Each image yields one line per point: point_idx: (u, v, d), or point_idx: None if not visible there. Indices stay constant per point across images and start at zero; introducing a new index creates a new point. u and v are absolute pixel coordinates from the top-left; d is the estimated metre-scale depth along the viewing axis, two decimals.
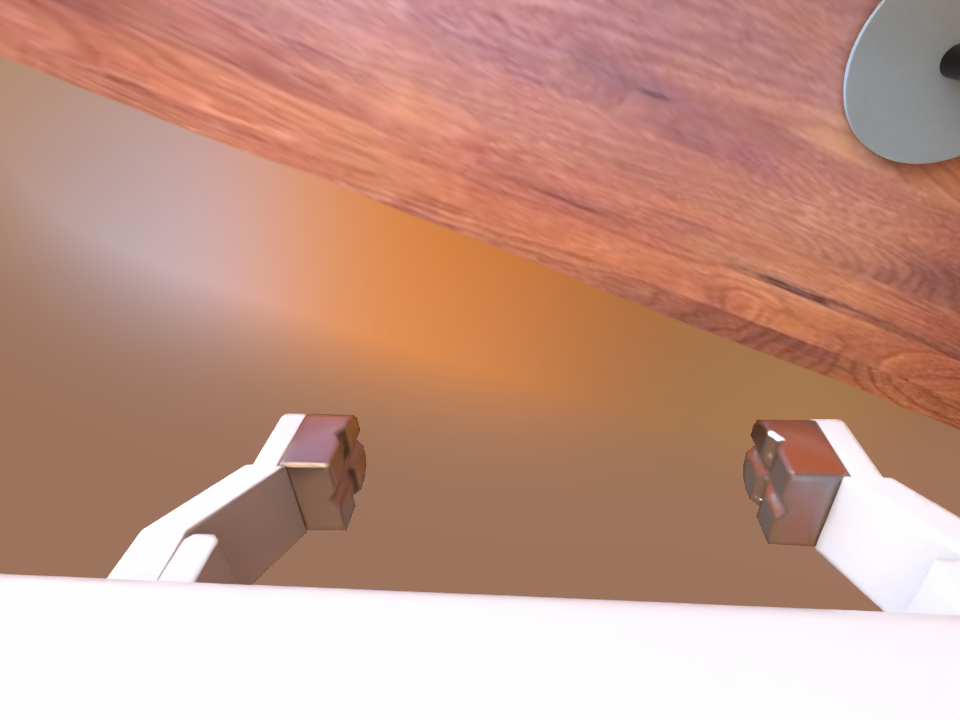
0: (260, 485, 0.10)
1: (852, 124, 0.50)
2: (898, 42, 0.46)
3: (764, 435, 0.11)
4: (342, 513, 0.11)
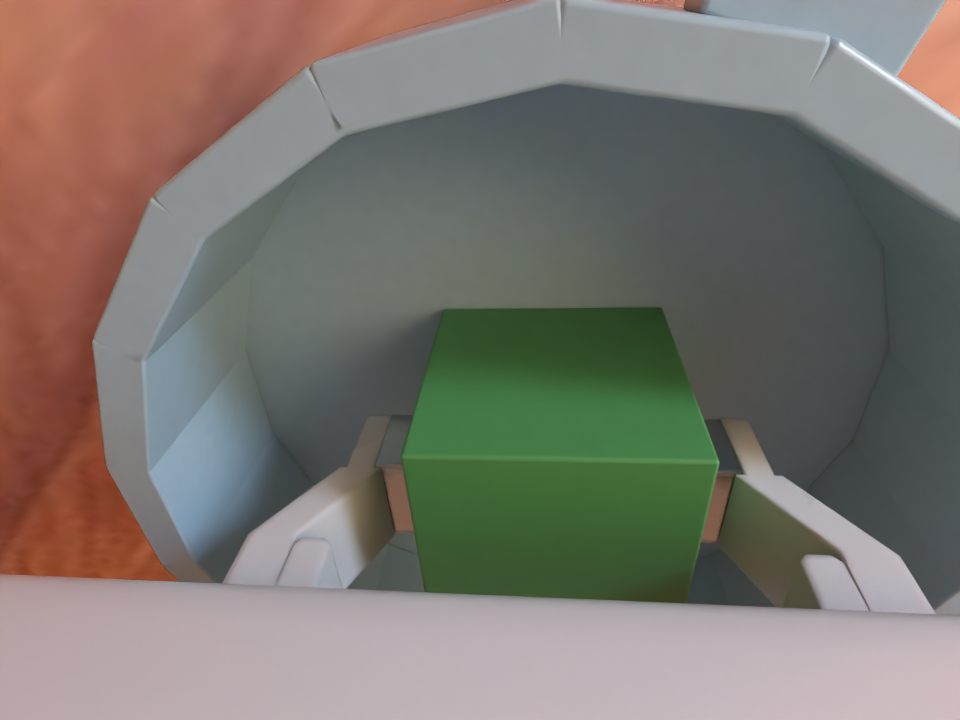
0: (359, 487, 0.10)
1: None
2: None
3: None
4: None
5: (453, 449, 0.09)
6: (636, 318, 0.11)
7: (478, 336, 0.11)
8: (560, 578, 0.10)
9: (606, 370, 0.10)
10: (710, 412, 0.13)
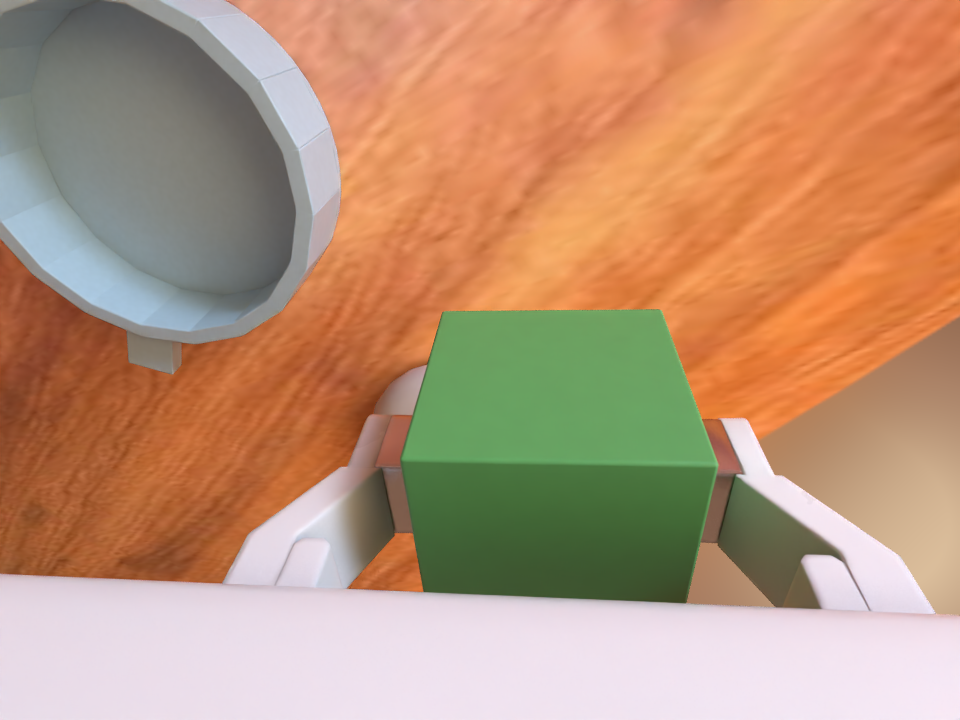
0: (359, 487, 0.10)
1: None
2: None
3: None
4: None
5: (452, 451, 0.09)
6: (636, 320, 0.11)
7: (477, 338, 0.11)
8: (560, 580, 0.10)
9: (606, 373, 0.10)
10: (256, 172, 0.28)
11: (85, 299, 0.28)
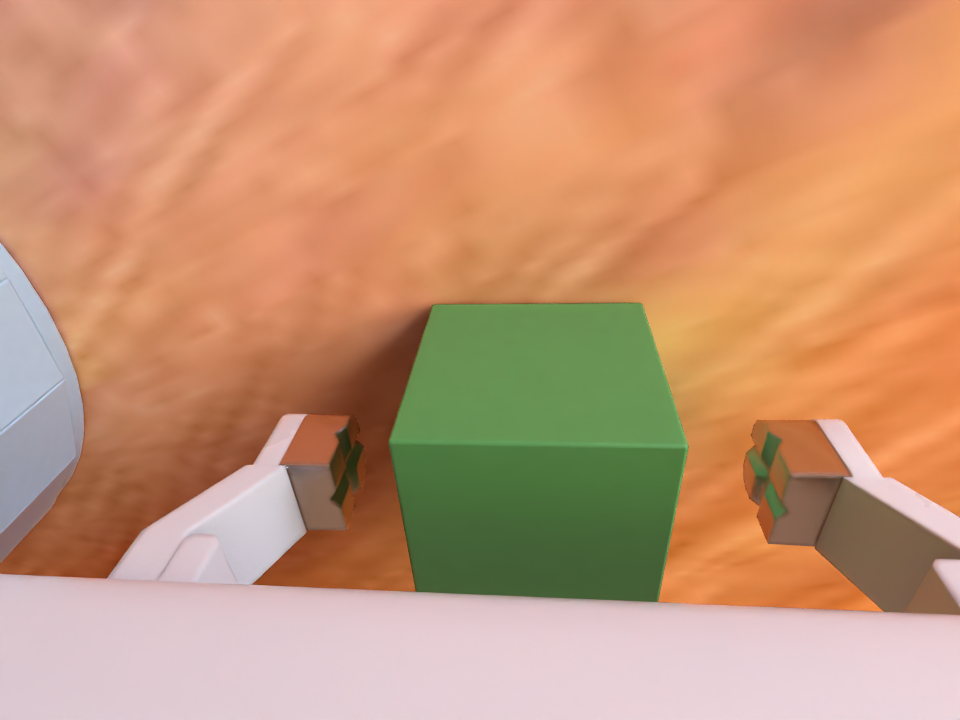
0: (260, 485, 0.10)
1: None
2: None
3: (764, 435, 0.11)
4: (342, 513, 0.11)
5: (438, 434, 0.09)
6: (617, 313, 0.12)
7: (465, 329, 0.12)
8: (541, 559, 0.10)
9: (586, 362, 0.10)
10: None
11: None
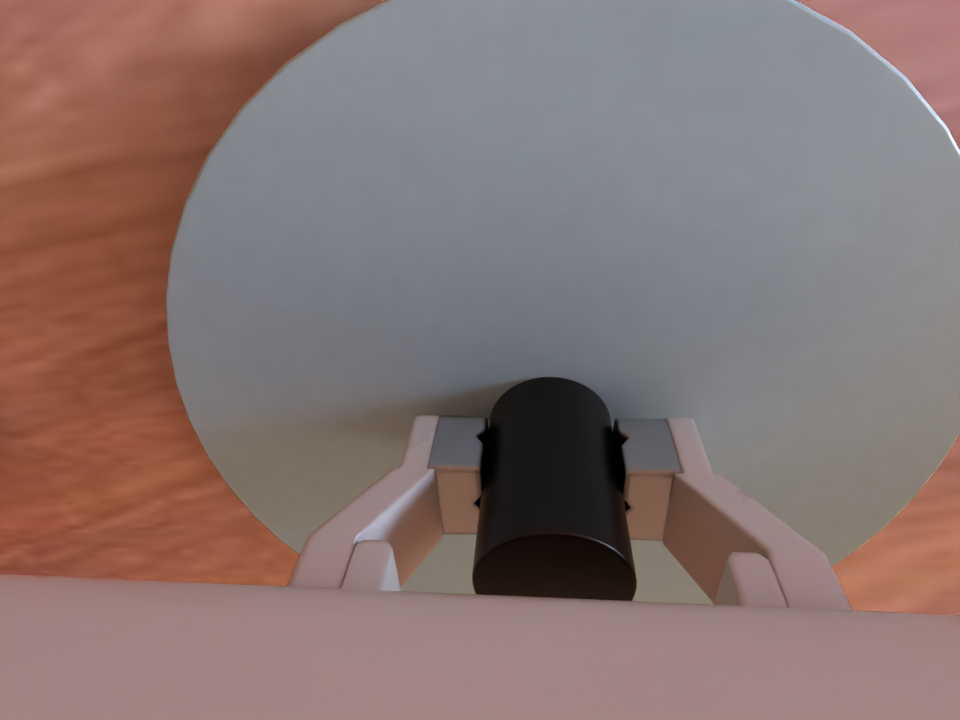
0: (413, 488, 0.10)
1: None
2: (802, 325, 0.11)
3: (616, 433, 0.11)
4: None
5: None
6: None
7: None
8: None
9: None
10: None
11: None
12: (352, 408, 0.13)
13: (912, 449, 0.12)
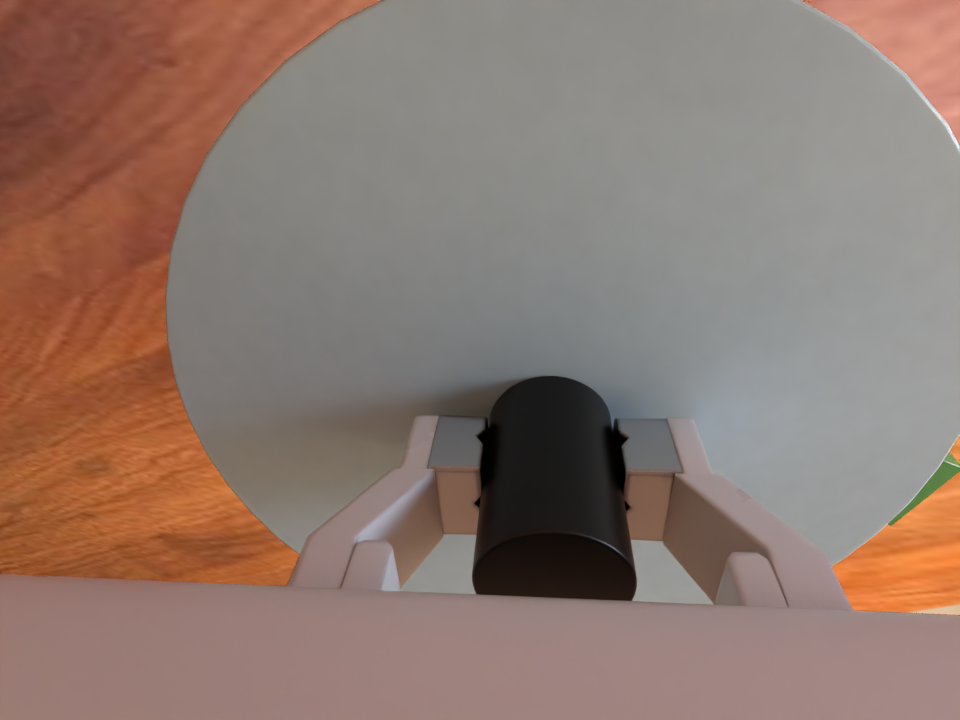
0: (414, 488, 0.10)
1: None
2: (803, 324, 0.11)
3: (616, 433, 0.11)
4: None
5: None
6: None
7: None
8: None
9: None
10: None
11: None
12: (352, 406, 0.13)
13: (913, 448, 0.12)
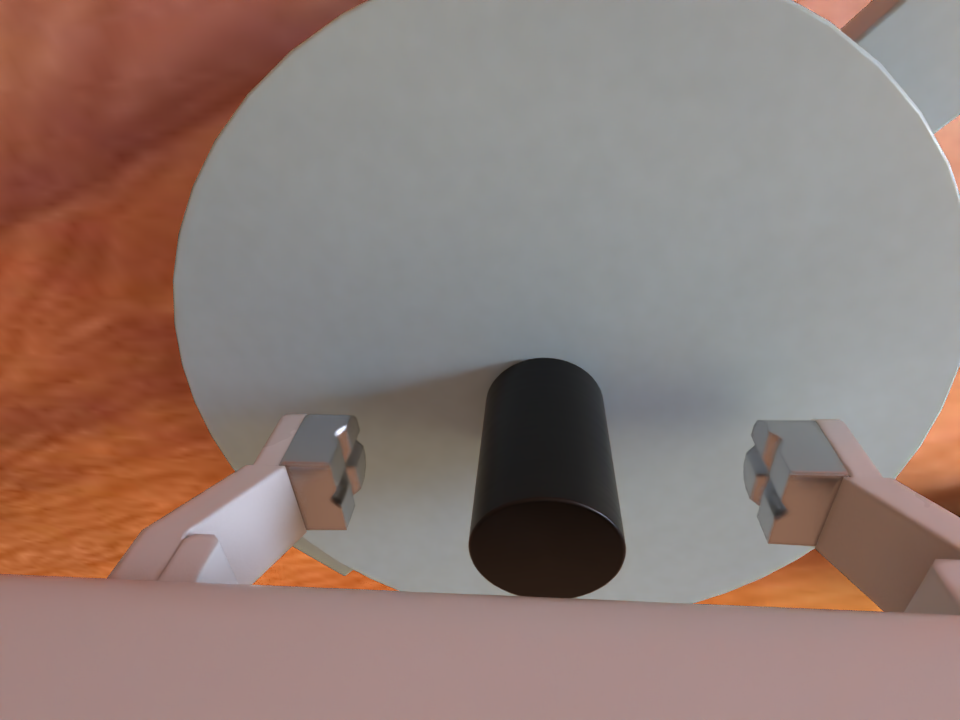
0: (260, 485, 0.10)
1: None
2: (787, 307, 0.11)
3: (764, 435, 0.11)
4: (342, 513, 0.11)
5: None
6: None
7: None
8: None
9: None
10: None
11: None
12: (353, 389, 0.13)
13: (894, 428, 0.12)
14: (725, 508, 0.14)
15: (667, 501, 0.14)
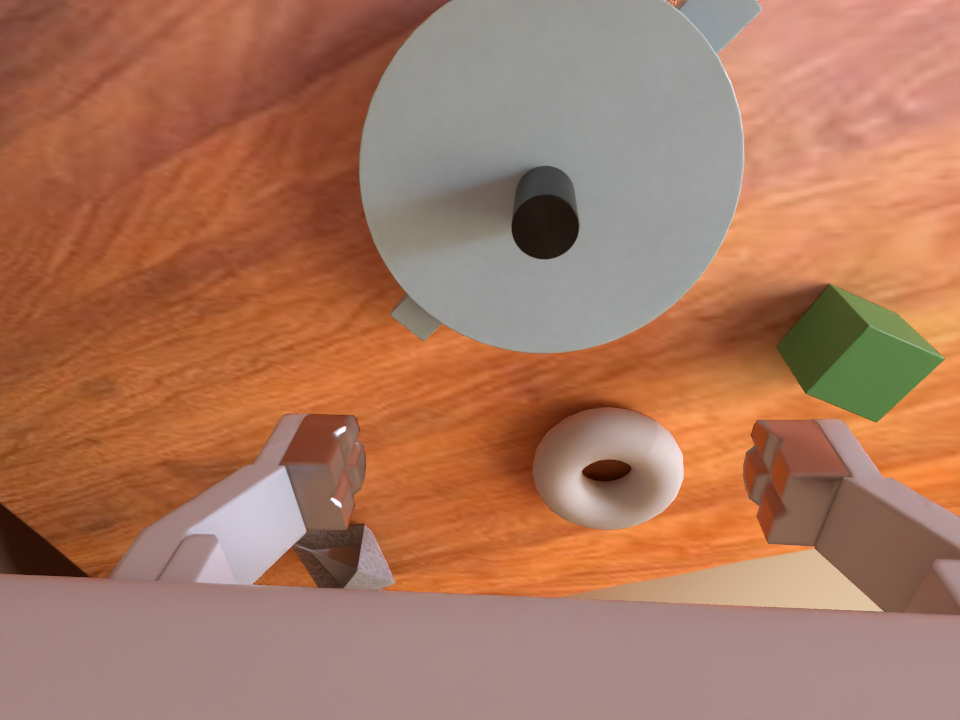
0: (260, 485, 0.10)
1: None
2: (659, 133, 0.23)
3: (764, 435, 0.11)
4: (342, 513, 0.11)
5: (881, 329, 0.28)
6: (894, 314, 0.32)
7: (852, 299, 0.31)
8: (869, 384, 0.30)
9: (900, 326, 0.30)
10: None
11: None
12: (446, 189, 0.25)
13: (719, 203, 0.25)
14: (641, 261, 0.26)
15: (610, 257, 0.26)
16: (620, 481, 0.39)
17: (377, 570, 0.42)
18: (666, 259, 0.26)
